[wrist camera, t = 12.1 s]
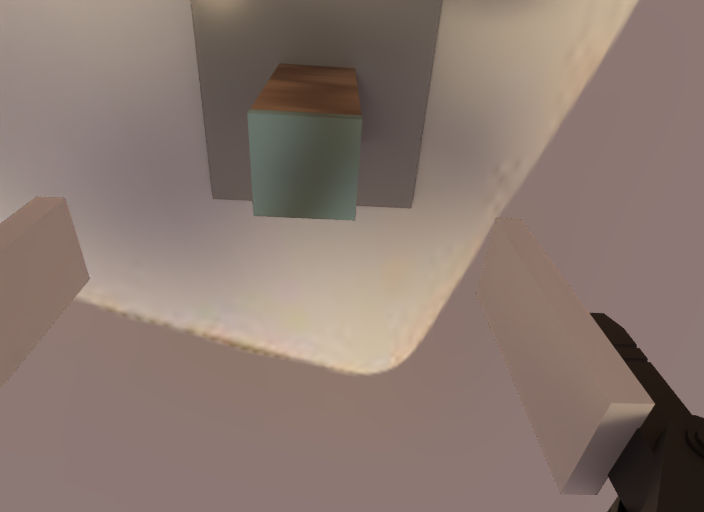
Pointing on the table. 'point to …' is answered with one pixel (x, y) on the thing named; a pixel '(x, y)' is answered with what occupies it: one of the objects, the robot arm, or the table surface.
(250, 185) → the slate coaster
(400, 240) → the table surface
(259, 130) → the walnut block
